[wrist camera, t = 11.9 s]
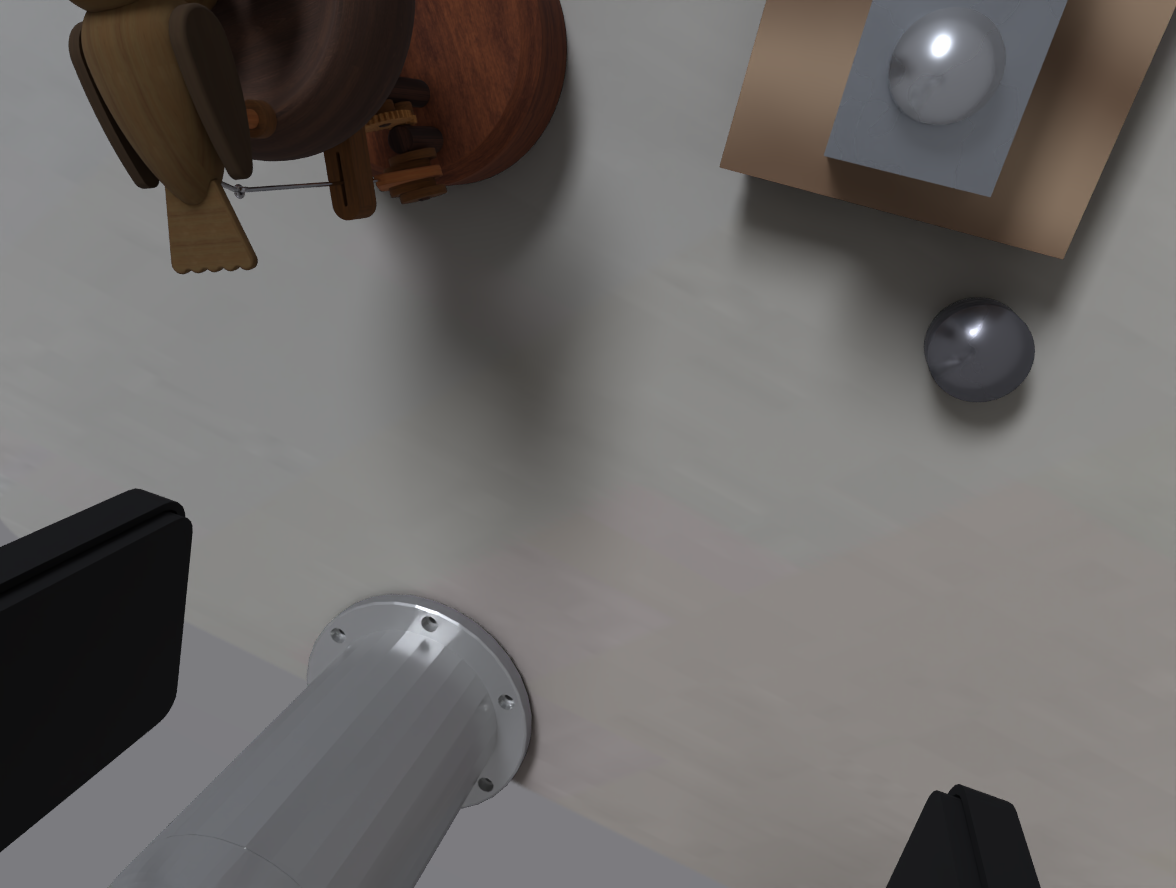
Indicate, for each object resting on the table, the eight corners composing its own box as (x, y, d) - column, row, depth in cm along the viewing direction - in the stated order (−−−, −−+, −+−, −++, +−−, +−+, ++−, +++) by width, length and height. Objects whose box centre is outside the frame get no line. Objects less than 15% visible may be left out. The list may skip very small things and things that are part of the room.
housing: (1090, -114, 26) (1140, -170, 21) (973, 190, 29) (995, 199, 25) (921, -145, 27) (935, -205, 22) (826, 154, 30) (822, 156, 26)
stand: (1044, 249, 32) (1063, 259, 29) (729, 165, 34) (719, 167, 31) (1207, -124, 28) (1247, -154, 25) (833, -195, 30) (831, -230, 27)
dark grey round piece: (1001, 400, 34) (1009, 414, 32) (909, 372, 35) (912, 384, 33) (1041, 312, 33) (1052, 322, 31) (945, 285, 33) (950, 293, 32)
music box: (635, 153, 35) (335, 200, 17) (423, 254, 40) (21, 369, 22) (479, -250, 32) (-73, -683, 14) (270, -88, 37) (-332, -264, 19)
